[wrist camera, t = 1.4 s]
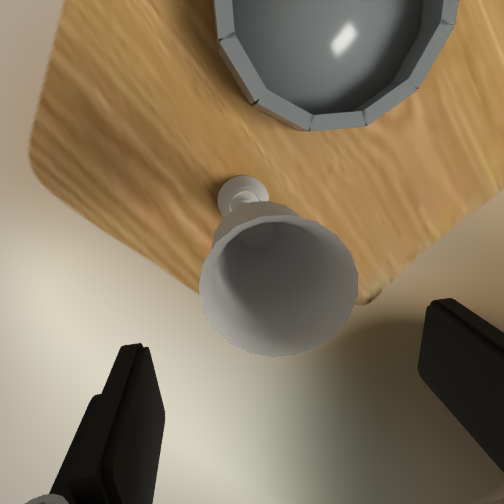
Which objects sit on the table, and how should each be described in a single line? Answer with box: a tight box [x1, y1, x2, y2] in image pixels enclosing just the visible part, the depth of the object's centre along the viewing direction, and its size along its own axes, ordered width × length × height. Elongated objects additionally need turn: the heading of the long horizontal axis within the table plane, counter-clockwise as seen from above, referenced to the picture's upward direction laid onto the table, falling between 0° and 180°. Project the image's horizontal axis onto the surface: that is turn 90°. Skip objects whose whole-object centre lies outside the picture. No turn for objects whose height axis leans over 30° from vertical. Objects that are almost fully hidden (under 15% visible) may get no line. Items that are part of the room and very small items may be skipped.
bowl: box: [213, 0, 459, 131], centre depth 23 cm, size 18×18×4 cm
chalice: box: [199, 175, 358, 357], centre depth 22 cm, size 7×7×18 cm
